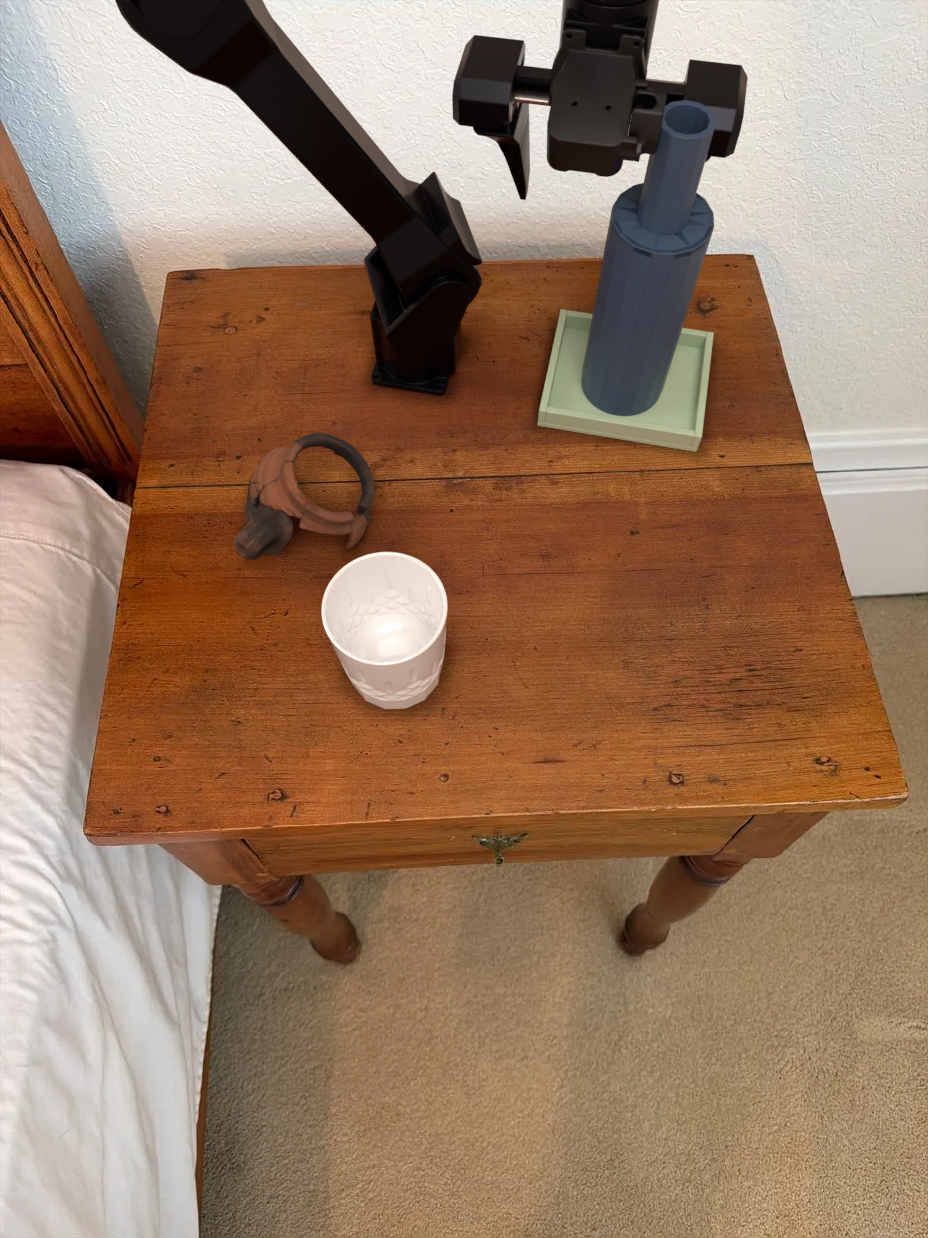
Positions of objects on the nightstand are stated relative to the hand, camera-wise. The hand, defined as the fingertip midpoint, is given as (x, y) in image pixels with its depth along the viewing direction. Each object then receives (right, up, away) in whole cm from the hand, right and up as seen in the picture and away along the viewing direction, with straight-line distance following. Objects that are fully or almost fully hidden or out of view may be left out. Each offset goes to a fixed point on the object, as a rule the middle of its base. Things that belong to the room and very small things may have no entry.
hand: (584, 203), depth 66 cm
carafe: (+4, -11, +9) cm, 15 cm away
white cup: (-14, -35, -2) cm, 37 cm away
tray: (+5, -11, +9) cm, 15 cm away
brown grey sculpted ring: (-22, -24, +3) cm, 32 cm away
